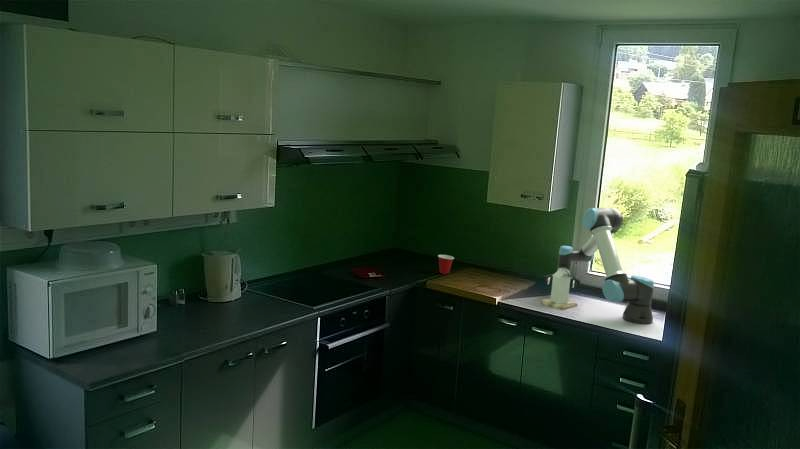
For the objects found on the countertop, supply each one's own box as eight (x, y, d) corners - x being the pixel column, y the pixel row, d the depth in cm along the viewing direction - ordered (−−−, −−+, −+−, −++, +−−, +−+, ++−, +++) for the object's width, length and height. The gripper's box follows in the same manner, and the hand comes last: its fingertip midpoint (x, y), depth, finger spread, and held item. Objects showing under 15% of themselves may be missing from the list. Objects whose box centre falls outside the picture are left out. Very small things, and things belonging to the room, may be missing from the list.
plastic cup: (455, 276, 409) (456, 257, 407) (439, 276, 406) (440, 257, 404) (450, 271, 419) (451, 254, 417) (434, 271, 416) (435, 254, 414)
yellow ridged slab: (577, 306, 356) (577, 303, 356) (563, 310, 347) (563, 307, 347) (554, 299, 367) (554, 297, 367) (540, 303, 358) (540, 300, 358)
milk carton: (556, 304, 353) (559, 271, 349) (550, 300, 359) (553, 268, 356) (567, 303, 354) (571, 271, 351) (561, 300, 361) (564, 267, 358)
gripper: (583, 284, 369) (583, 293, 349) (540, 278, 376) (537, 287, 356) (585, 271, 368) (584, 280, 348) (541, 266, 375) (538, 274, 355)
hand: (560, 283), depth 352 cm, fingers open, 13 cm apart
